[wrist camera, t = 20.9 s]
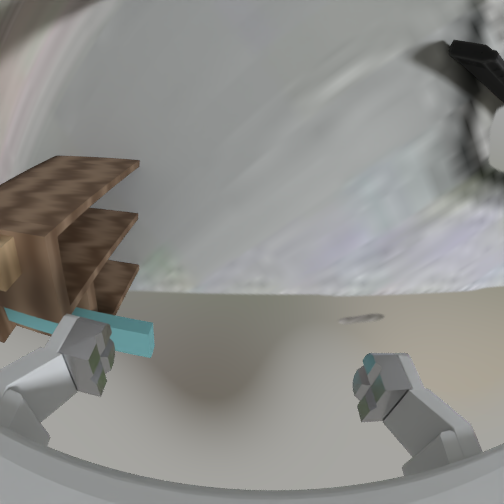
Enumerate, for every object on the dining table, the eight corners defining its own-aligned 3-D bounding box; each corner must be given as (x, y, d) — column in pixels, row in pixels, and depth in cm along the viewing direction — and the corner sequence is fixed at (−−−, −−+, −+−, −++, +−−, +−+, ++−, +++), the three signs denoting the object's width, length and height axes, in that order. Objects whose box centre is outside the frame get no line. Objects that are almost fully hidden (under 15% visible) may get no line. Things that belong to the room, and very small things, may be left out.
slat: (152, 322, 34) (148, 334, 32) (154, 345, 36) (150, 357, 34) (7, 289, 32) (0, 297, 30) (15, 311, 34) (8, 320, 32)
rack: (139, 160, 44) (4, 276, 16) (139, 269, 54) (69, 422, 26) (56, 155, 43) (-88, 246, 15) (65, 256, 53) (-26, 380, 25)
